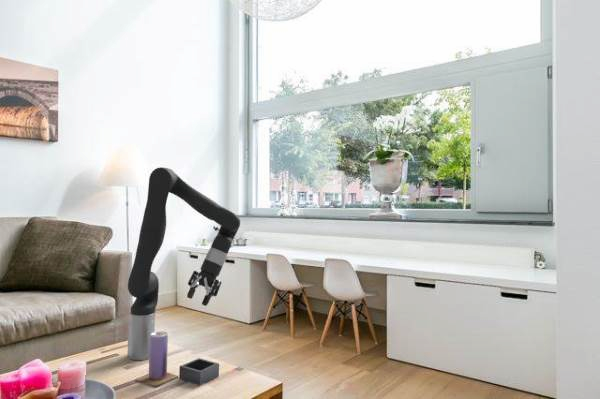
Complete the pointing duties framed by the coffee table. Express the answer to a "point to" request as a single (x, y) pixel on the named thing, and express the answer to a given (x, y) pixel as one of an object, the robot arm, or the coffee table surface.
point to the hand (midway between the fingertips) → (196, 301)
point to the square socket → (199, 371)
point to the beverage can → (158, 355)
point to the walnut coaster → (156, 383)
